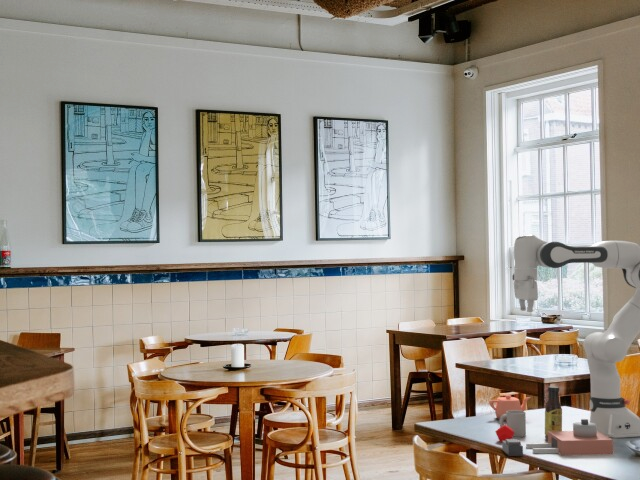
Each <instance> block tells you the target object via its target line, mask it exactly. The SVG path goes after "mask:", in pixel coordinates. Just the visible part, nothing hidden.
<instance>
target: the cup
mask: <svg viewBox="0 0 640 480" xmlns="http://www.w3.org/2000/svg"><path fill="white" fill-rule="evenodd" d="M505 418H507V421H506V425H507V426H508V427H510V428H511V429H512V430H513V431H514V435H513V438H514V437H515V438H520V437H525V436H526V435H527V425H526V424H527V423H526V411H525V410H524V411H518V410H511V411H507V412H506V414H503V415H502V416H501V417H500V419H498V421H499V422H498V423H499V428H500V427H502V426H504V425H505V423H504V422H505V421H504V419H505Z"/></svg>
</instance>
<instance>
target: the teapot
mask: <svg viewBox="0 0 640 480" xmlns="http://www.w3.org/2000/svg"><path fill="white" fill-rule="evenodd" d="M531 398H532V396H528V397H525V398H524V399H523V401H522V404H521V402H520V399H519V398H517V397H514V396H512V395H511V394H505V395H504V396H501V397H500V396H499V397H497V398H496V399H491V400H489V403H488V404H489V406H490V407H491V408H492V410H494V413H495V416H496V418H497V419H498V420H500V417H501V416H502V415H503V414H506V412H507V411H511V410H518V411H524V412H525V411H526V408H527V402H528V400H530V399H531ZM494 403H495V405H494ZM504 422H507V418H505V419H504Z"/></svg>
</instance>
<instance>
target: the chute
mask: <svg viewBox="0 0 640 480" xmlns="http://www.w3.org/2000/svg"><path fill="white" fill-rule="evenodd" d="M501 444H502V446H501V447H502V449H501V450H502V451H503V452H504V453H505V455H507V456H508V457H510V456H511V457H514V456H515V457H517V456H518V457H519V456H521V457H522V456H524V448H523V447H524V445H522V444H521V441H520V440H519V439H517V438H512V439H506V441H502V443H501Z"/></svg>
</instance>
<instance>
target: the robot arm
mask: <svg viewBox="0 0 640 480" xmlns="http://www.w3.org/2000/svg"><path fill="white" fill-rule="evenodd" d="M513 260H514V267H513V269H514V270H513V271H514V272H513V274H512V276H511V277H512V281H513V291H514V292H513V293H514V298H515V299H518V303H519V309H520V311H522V312H524V311H527V313H532V312H534V311H533V310H534V309H533V308H534V303H535V302H534V301H537V300H538V298H539V293H538V292H539V290H538V289H539V288H538V283H537V281H538V266H539V267H543V268H553V269H558V268H562V267H563V266H566V265H568V264H577V263H581V264H582V263H583V264H584V263H585V264H587V263H588V264H592V265H593V266H594V267H596V268H602V269H621V270H622V275H623V279H624V281H625V283H626V284H628V286H630V287H632V288H635V292H634V294H633V296H632V297H631V298H630V299H629V300H628V301H627V302H626V303H625V304H624V305H623V306H622V307H621V308H620V309H619V310H618V311H617V312H616V314H615V315H614V316H613V317H612V322H611V323H610V324H609V326H608V327H607V329H606V330H605V331H604V332H602V331H596V332H592V333H589V334H588V335H587V336H586V337H585V338H584V340H583V349H584V351H585V355H586V360H587V365H588V370H589V375H590V376H589V378H590V396H589V411H590V413H589V414H590V415H589V416H590V417H589V421H588V422H589V423H595V424H596V425H597V431H598V432H600V433H601V434H603V435H605V436H607V437H609V438H612V439H617V438H620V439H621V438H635V437H640V417H639V416H638V415H637V414H636V413H634V412H633V411H632V410H631V409H629V408H628V407H626V405H629V406H630V399H628V398H624V397H621V392H622V391H621V390H622V389H621V376H620V374H619V371H618V368H617V363H619V362H622V361H623V360H624V359H625V358H626V357H627V355H628V350H629V349H630V347H631V345H632V344H633V342H634V340H635V339H636V337H637V336H638V335H639V334H640V245H639V244H638V243H636V242H632V241H626V240H603V241H598V242H594V243H593V244H592V245H590V246H587V245H586V246H573V245H572V246H569V245H567V244H566V243H565V244H564V243H562V242H560V241H550V242H548V241H545V240H543V239H541V238H539V237H537V236H536V235H535V234H525V235H521V236H518V237H517V238H515V241H514V246H513ZM526 302H527V307H526Z"/></svg>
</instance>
